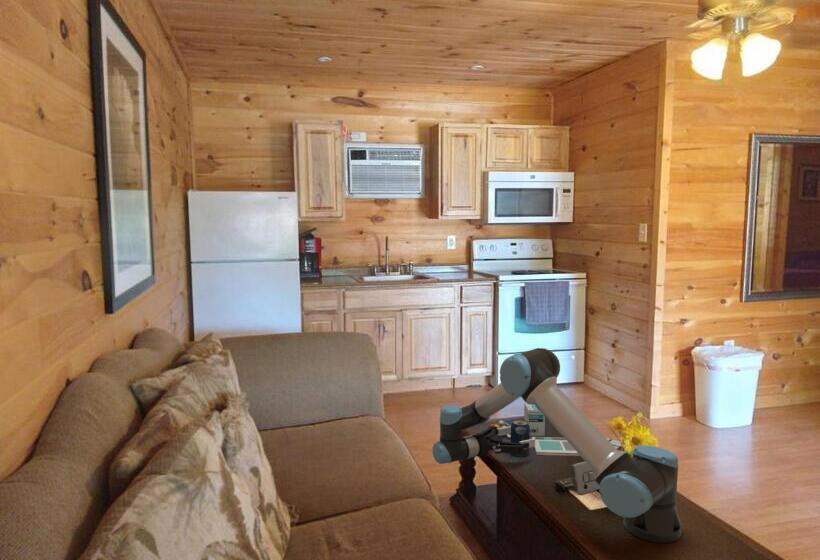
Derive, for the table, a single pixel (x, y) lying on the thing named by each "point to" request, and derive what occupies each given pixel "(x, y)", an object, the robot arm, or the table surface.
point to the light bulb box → (534, 420)
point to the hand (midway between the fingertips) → (523, 435)
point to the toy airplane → (501, 426)
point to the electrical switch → (583, 478)
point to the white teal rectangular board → (553, 446)
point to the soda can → (520, 434)
